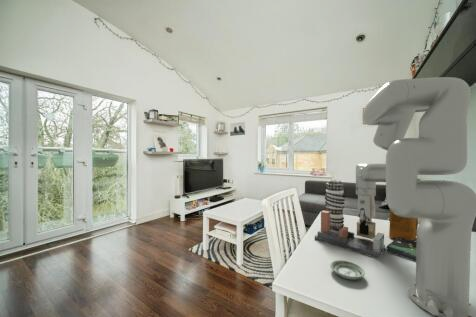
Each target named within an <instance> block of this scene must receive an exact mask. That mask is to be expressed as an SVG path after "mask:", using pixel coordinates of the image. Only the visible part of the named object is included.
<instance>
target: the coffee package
mask: <svg viewBox="0 0 476 317" xmlns="http://www.w3.org/2000/svg"><path fill="white" fill-rule="evenodd" d="M388 220H389V227H388V228H389V230H388V237H389V239H393V240H396V239H397V238H398V237H401V238H405V239H406V240H408V241H411V240H412V241H415V240H416V239H417V229H418V227H419V218H406V217H400V216H398V215H396V214H394V213H393V212H392V211H391V210H390V209H389V219H388Z"/></svg>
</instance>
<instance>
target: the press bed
mask: <svg viewBox="0 0 476 317" xmlns="http://www.w3.org/2000/svg"><path fill="white" fill-rule="evenodd" d="M330 229H331V230H335V231H339V230H340V229H337V228H333V227H330ZM314 240H317V241H320V242H323V243H327V244H330V245H334V246H336V247H339V248H343V249H345V250H350V251H353V252H355V253H359V254H362V255H365V256H368V257H369V256H370V257H372V258H376V259H379V258H381V256H382V254H383V253H384V251H385V248H386V247H385V233H384V232H383V233H382V232H377V233H375V237H374V238H373V239H372V240H373V241H371V240H367V239H363V238H360V237H355V232H352V231H349V230H348V237H347V238H342V237H338V236H335V235H331V234H328V233H324V232H321V230H318V231H317V234H315V235H314Z"/></svg>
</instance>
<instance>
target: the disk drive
mask: <svg viewBox="0 0 476 317" xmlns="http://www.w3.org/2000/svg"><path fill="white" fill-rule="evenodd" d="M416 244H417V240H416V241H415V240H414V241H412V240H411V241H408V240H406V239H405V238H401V237H398V238H397V239H393V240H392V241H391V242H390V243H388V244H387V245H386V252H388V253H389V254H393V255H396V256H398V257H399V256H400V257H402V258H405V259H409V260H412V261H415V262H416Z"/></svg>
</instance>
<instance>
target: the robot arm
mask: <svg viewBox="0 0 476 317" xmlns="http://www.w3.org/2000/svg"><path fill="white" fill-rule="evenodd" d="M471 94H472V92H471V87H470V85H469V84H468V83H467V82H466V81H465V80H463V79H462V78H459V77H453V76H452V77H450V76H447V77H445V76H443V77H440V76H439V77H437V76H436V77H421V78H419V77H418V78H406V79H405V78H403V79H394V80H390V81H389V82H386V83H385V84H384V85H382V87H381V88H380V89H379V90H378V91H377V92H376V93H375V94H374V95H373V96H372V97H371V98H370V99H369V101H368V102H367V104H366V105H365V108H364V110H363V113H362V120H363V122H364V124H365V125H367V126H377V127H376V131H375V134H374V136H373V139H372V142H373V143H374V145H375V146H376V147H378V148H380V149H382V150H385V151H387V152H386V154H385V163H357V164H356V165H355V195H357V205H356V206H357V207H356V208H357V217H358V218H359V220H360V234H365V235H368V226H367V225H368V221H370V222H373V221H372V219H373V218H375V216H376V203H375V197H376V195H377V189H376V188H377V187H376V186H377V183H385V195H386V198H385V199H386V204H387V206H388V208H389V211H390V210H391V211H392V212H393V213H394V214H396V215H398V216H400V217H406V218H418V219H422V220H421V222H420V223H419V224H418V228H417V236H416V242H417V244H416V261H415V263H416V264H415V284H411V285H409V287H408V289H407V291H408V292H407V293H408V296H409V298H410V299H411V300H412V301H413V302H414V304H416V305H417V306H418V307H420V308H421V309H423V310H425V311H426V312H428V313H430V315H433V316H435V317H476V307H475V306H474V305H472V303H470V282H471V280H470V279H471V278H470V277H471V250H472V249H471V248H472V247H471V245H472V243H471V242H472V230H473V225H474V222H475V219H476V192H475V191H474V190H473V189H472V188H471V187H470V186H468V185H466V184H465V183H462V182H459V181H453V180H445V179H443V180H441V179H440V180H439V179H438V180H437V179H436V180H435V179H433V180H432V179H431V180H430V179H429V180H428V179H427V180H426V179H425V180H423V179H422V180H418V176H446V175H447V176H449V175H450V176H451V175H455V174H458V173H461V172H463V171H464V170H465V168H466V166H467V163H468V131H467V130H468V128H467V127H468V126H467V125H468V124H467V120H468V119H467V117H468V116H467V115H468V110H469V105H470V101H471ZM417 110H418V111H419V110H426V111H424V113H423V115H422V116H421V118H420V119H419V122H418V137H406V134H407V133H408V132H407V131H408V130H409V127H410V125H411V123H412V121H413V118H414V115H415V113H416V111H417ZM365 220H366V222H365Z"/></svg>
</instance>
